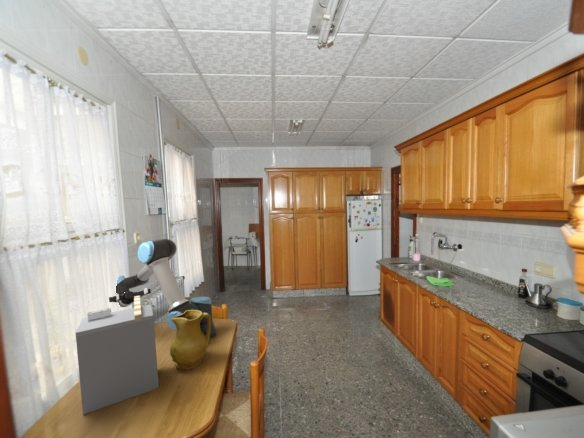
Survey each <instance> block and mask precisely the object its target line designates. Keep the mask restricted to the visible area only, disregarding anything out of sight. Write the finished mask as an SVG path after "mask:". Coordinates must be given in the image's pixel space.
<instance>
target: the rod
mask: <svg viewBox="0 0 584 438" xmlns="http://www.w3.org/2000/svg"><path fill="white" fill-rule="evenodd" d="M133 303H134V304H133V308H134V317H135V322H136V321H141V320H142V317H141V297H140V295H139V296H134V302H133Z"/></svg>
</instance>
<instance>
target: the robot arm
mask: <svg viewBox="0 0 584 438" xmlns="http://www.w3.org/2000/svg"><path fill="white" fill-rule="evenodd" d="M176 253H177V244H176V243H175V242H174V241H173V240H171V239H168V238H164V239H163V238H162V239H159V240H158V239H157V240H150V241H146V242H142V243H141V244H140V246H138V250H137V258H138V260H139V262H140V263H142V264H144V266H143V267H142V268H141V269H140V270H139V271H138V272H137V273H136V274H135V275H132V276H128V277H125V275H119V277H118V276H117V277H118V280H117V286H116V293H117V294H116V293H115V295H113V296H109V297H108V301H109V303H117V304H118V303H119V305H120V306H119V305H118V306H119V307H121V308H127V307H130V305H131V304H133V303H134V296H139V295H140V298H142V297H143V296H146V295H150V294H151V293H152V290H151V288H148V287H145V288H144V289H143V290H141V291H134V292H133V291H131V289H133V288H137V287H141V286H144V285H146V284H148V283H149V281H150V278H151V276H153V274H154V276H155V278H156V280H157V282H158V285H159V287H160V290H161V291H162V293H163V295H164V298H165V300H166V302H167V304H168V306H169V307H168V309H167V311H168V315H167V320H166V321H167V325H168V326H169V328H170V329H172V330H173V331H176V332H177V329H176V325H175V323H174V322H173V321H171V319H172V318H174V317H176V316H179V315H181V314H183V313H184V312H185V311H186V310H199V311H201V312H202V313H208V314H209V315H210V317H211V330H210V331H211V332H210V339H212V338H213V337H215V336H216V334H217V328H216V326H215V323H214V322H213V305H212V299H211V297H209V296H195V297H192V298H190V300H189V299H186V298H185V296H184V294H183V292H182V290H181V288H180V286H179V284H178V282H177V280H176V277H175V274H174V273H173V271H172V269H171V267H170V265H169V263H168V261H170V260H171V259H172V258H173V257H174V256H175V254H176ZM124 292H125V293H124ZM207 323H208V320H207V318H206V317H204V318H203V319H202V320H201V322H200V328H201V331H202V332H203V334H204V335H206V332H207Z"/></svg>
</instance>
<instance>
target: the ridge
mask: <svg viewBox="0 0 584 438" xmlns="http://www.w3.org/2000/svg"><path fill="white" fill-rule="evenodd" d="M111 313H112V308H111V307H108V308H103V309H98V310H92V311H88V312H87V315H86V316H87V318H88V321H92V320H96V319H101V318H106V317H110V316H111V315H112V314H111Z"/></svg>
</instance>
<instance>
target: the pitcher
mask: <svg viewBox="0 0 584 438" xmlns="http://www.w3.org/2000/svg"><path fill="white" fill-rule="evenodd" d="M204 317H206V318H207V320H208V323H207V332H206V335H204V334H203V332H202V331H201V328H200V322H201V320H202V319H203V318H204ZM171 321H173V322H174V323H175V325H176V329H177V331H176V334H175V337H174V339H173V340H172V342H171V344H170V348H169V351H170V352H169V353H170V357H171V359H172V362H175V368H176V369H177V370H179V371H181V370H183V371H185V370H186V371H187V370H193V369H195V368H197V367H199V366H200V365H201V364H202V362H203V361H204V357H205V355H206V354H207V351H208V350H207V349H208V347H209V346H208V345H209V342H210V339H211V338H210V332H211V331H210V330H211V317H210V315H209V314H208V313H202V312H201V311H199V310H186V311H185V312H184V313H183V314H181V315H179V316H176V317H174V318H172V319H171Z"/></svg>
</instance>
